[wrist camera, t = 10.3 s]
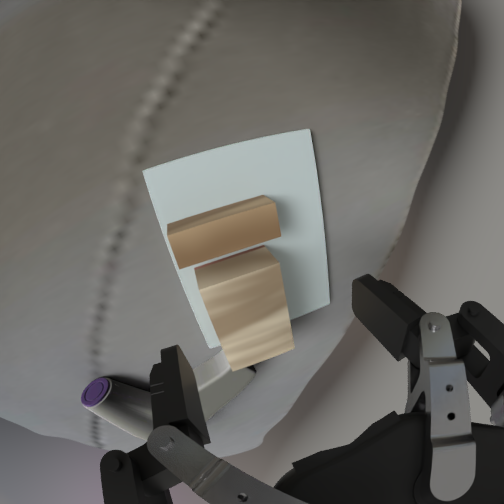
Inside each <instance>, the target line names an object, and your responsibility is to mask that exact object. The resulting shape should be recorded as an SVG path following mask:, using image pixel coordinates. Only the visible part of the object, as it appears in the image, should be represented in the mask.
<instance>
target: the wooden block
mask: <svg viewBox="0 0 504 504" xmlns="http://www.w3.org/2000/svg"><path fill="white" fill-rule="evenodd" d="M194 271H195V275H196V280H197V284H198V288H199V292H200V294H201V297H202V299H203V302H204V304H205V307H206V310H207V312H208V315H209V317H210V320H211V322H212V324H213V327H214V329H215V332H216V334H217V337H218V339H219V341H220V344H221V346H222V348H223V351H224V353H225V355H226V358H227V360H228V362H229V365H230V367H231V369H232V371H236V370H239V369H242V368H245V367H247V366H250V365H253V364H256V363H259V362H261V361H264V360H267V359H269V358H272V357H275V356H277V355H280V354H282V353H285V352H287V351H290V350H292V349H295V347H294V341H293V336H292V330H291V324H290V318H289V313H288V307H287V301H286V296H285V290H284V285H283V280H282V274H281V269H280V264H279V262H278V261H277V259H276V258H275V257H274V256H273V255H272V254H271V252H270V251H269V250H268V249H267V248H266V247H265V246H264V245H261V246H258V247H255V248H252V249H249V250H246V251H243V252H240V253H237V254H234V255H231V256H228V257H225V258H222V259H219V260H216V261H213V262H210V263H207V264H204V265H201V266H198V267H195V268H194Z"/></svg>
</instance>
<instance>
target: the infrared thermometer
mask: <svg viewBox="0 0 504 504" xmlns="http://www.w3.org/2000/svg"><path fill="white" fill-rule="evenodd" d="M192 370H193V372H194V375H195V378H196V383H197V387H198V392H199V396H200V401H201V405H202V410H203V414H204V418H205V422H206V421H207V420H209V419H210V418H211V417H212V416H213V415H214V414H215V413H216V412H217V411H218V410H220V409H221V408H222V407H224V406H225V405H226V404H227V403H229V402H230V401H231V400H232V399H233V398H235V397H236V396H237V395H238V394H239V393H240V392H241V391H242V390H243V389H244V388H245V387H246V386H247V385H248V384H249V383H250V382H251V380H252V379H253V378H254V376H255V374H256V370H255V368H254V366H253V365H250V366H247V367H245V368H242V369H239V370H236V371H232V369H231V367H230V365H229V362H228V360H227V358H226V355H225V353H224V351H223V349H222V350H221V351H220V352H219V353H218V354H216V355H215V356H214V357H212V358H211V359H209V360H207V361H206V362H204V363H202V364H201V365H199V366H197V367H195V368H194V369H192ZM81 402H82V404H83V406H84V407H85V408H87V409H88V410H90V411H92V412H93V413H95V414H96V415H98V416H100V417H101V418H103V419H105V420H106V421H108V422H110V423H112V424H113V425H115V426H117V427H119V428H120V429H122V430H124V431H126V432H128V433H130V434H132V435H133V436H135V437H138V438H141V439H144V440H147V439H148V437H149V435H150V433H151V432H152V431H153V418H152V407H151V392H148V391H144V390H141V389H138V388H135V387H132V386H129V385H126V384H123V383H120V382H118V381H115V380H112V379H110V378H98V379H96V380H94V381H92V382H91V383H90V384H89V385H88V386H87V387H86V388H85V390H84V391H83V393H82V396H81Z"/></svg>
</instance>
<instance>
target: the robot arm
mask: <svg viewBox="0 0 504 504" xmlns="http://www.w3.org/2000/svg"><path fill="white" fill-rule="evenodd" d="M352 309H353V312H354V314H355V316H356V317H357V318H358V319H359V320H360V321H361V322H362V323H363V325H364V326H365V327H366V328H367V329H368V330H369V331H370V332H371V333H372V334H373V335H374V336H375V337H376V338H377V339H378V341H379V342H381V344H382V345H383V346H384V347H385V348H386V349H387V350H388V351H389V352H390V353H391V355H392V356H393V357H394V358H395V359H396V360H397V361H400V360H401V359H403V358H404V357H407V358H408V398H407V403H406V408H405V413H404V414H400V415H397V413H396V412H395V411H393V412H391V413H390V414H388V415H386V416H385V417H383V418H382V419H380V420H378V421H377V422H375V423H373V424H372V425H371V426H370V427H369V428H368V429H366V430H365V431H364V432H363V433H362V434H361V435H360V436H359V437H358V438H357V439H355V440H354V441H353V442H352V443H350V444H348V445H345V446H341V447H337V448H333V449H329V450H324V451H320V452H317V453H315V454H313V455H311V456H308V457H306V458H303V459H301V460H299V461H296V462H293V463H292V464H293V467H294V468H293V469H291V470H290V471H289V472H287V473H286V474H285V475H284V476H283V477H282V478H281V479H280V480H279V481H278V482H277V483H276V485H275V486H274V488H273V487H271V486H269V485H267V484H265V483H263V482H261V481H259V480H257V479H256V478H254V477H252V476H250V475H248V474H246V473H245V472H243V471H241V470H240V469H238V468H236V467H235V466H233V465H231V464H230V463H228V462H226V461H224V460H222V459H220V458H218V457H216V456H215V455H213V454H212V453H210V452H209V451H207V450H206V449H205V448H204V445H205V444H209V443H211V442H210V438H209V434H208V430H207V426H206V422H205V418H204V414H203V410H202V405H201V401H200V396H199V392H198V387H197V383H196V378H195V375H194V372H193V370H192V368H191V366H190V364H189V362H188V361H187V359H186V357H185V355H184V354H183V352H182V350H181V348H180V347H179V345H175V346H172V347H168V348H165V349H162V350H161V363H158V364H154V365H153V368H152V370H151V373H150V386H151V387H150V392H151V407H152V418H153V431H152V432H151V433H150V435H149V437H148V439H147V442H146V443H145V444H144V445H142V446H140V447H138V448H136V449H134V450H132V451H130V452H128V453H125V452H123V451H121V450H112V451H109V452H107V453H106V454H105V455H104V456H103V458H102V459H101V462H100V472H101V482H102V490H103V497H104V504H173V502H172V499H171V495H170V491H169V488H171V487H173V486H175V485H177V484H178V483H181V482H184V483H185V484H186V485H188V486H189V487H190V488H191V489H192V490H193V492H195V493H196V494H197V495H198V496H200V497H201V498H202V499H204V500H205V501H207V502H208V503H209V504H504V324H503V323H502V322H500V321H499V320H498V319H497V318H496V317H495V316H494V315H493V314H491V313H490V312H489V311H488V310H487V309H486V308H484V307H483V306H482V305H481V304H479V303H477V302H475V301H467V302H465V303H463V304H462V305H461V308H460V311H459V313H456V314H453V315H450V316H446V317H445V316H444V315H442V314H440V313H436V312H430V313H426V312H425V311H424V310H423V309H421V308H420V307H419V306H418V305H416V304H415V303H414V302H413V301H411V300H410V299H409V298H408V297H407V296H404V294H403V293H402V292H400V291H398V289H397V288H396V287H394V286H393V285H392V284H391V283H388V282H385V281H383V280H379V281H378V280H376V279H375V278H374V277H373V276H371V275H370V274H366V275H363V276H361V277H359V278H357V279H354V280H353V283H352ZM475 340H476V341H477V342H478V343H479V344H480V345H481V346H482V347H483V348H484V349H485V350H486V351H487V352H488V353H489V356H490V361H489V360H488V359H487V358H486V357H485V356H484V355H483V354H482V353H481V352H480V351H479V350H478V349H477V348H476V347H475V346H474V343H475ZM467 381H468V382H469V383H470V384H471V385H472V386H473V388H474V389H475V390H476V391H477V392H478V394H479V395H480V396H481V397H482V398H483V400H484V401H485V402H486V403H487V404H488V405H489V407H490V408H491V417H490V422H491V423H492V424H493V425H488V424H480V423H474V422H471V416H470V404H469V395H468V386H467Z"/></svg>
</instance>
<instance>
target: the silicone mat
mask: <svg viewBox="0 0 504 504" xmlns="http://www.w3.org/2000/svg"><path fill="white" fill-rule="evenodd" d="M143 174H144V178H145V181H146V184H147V187H148V191H149V194H150V197H151V200H152V203H153V206H154V209H155V212H156V215H157V218H158V221H159V224H160V227H161V230H162V233H163V235H164V238H165V241H166V244H167V246H168V249H169V252H170V255H171V257H172V260H173V263H174V265H175V268H176V270H177V273H178V276H179V278H180V281H181V283H182V286H183V288H184V291H185V293H186V295H187V298H188V300H189V303H190V305H191V308H192V310H193V312H194V315H195V317H196V319H197V322H198V324H199V326H200V328H201V331H202V333H203V335H204V337H205V340H206V342H207V344H208V346H209V348H210V349H211V348H214V347H217V346H220V345H221V344H220V341H219V339H218V337H217V334H216V332H215V329H214V327H213V324H212V322H211V320H210V317H209V315H208V312H207V310H206V307H205V304H204V302H203V299H202V297H201V294H200V292H199V288H198V284H197V280H196V275H195V271H194V268H195V267H198V266H201V265H204V264H207V263H210V262H213V261H216V260H219V259H222V258H225V257H228V256H231V255H234V254H237V253H240V252H243V251H246V250H249V249H252V248H255V247H258V246H261V245H264V246H265V247H266V248H267V249H268V250H269V251H270V252H271V254H272V255H273V256H274V257H275V258H276V259H277V261H278V262H279V264H280V269H281V274H282V280H283V285H284V290H285V296H286V301H287V307H288V313H289V318H290V320H292V319H295V318H297V317H300V316H302V315H305V314H307V313H310V312H312V311H314V310H317V309H319V308H322V307H324V306H326V305H329V304H330V297H329V281H328V267H327V255H326V244H325V234H324V224H323V215H322V207H321V199H320V191H319V184H318V176H317V170H316V163H315V157H314V150H313V144H312V139H311V133H310V129H302V130H296V131H291V132H285V133H280V134H275V135H270V136H265V137H260V138H255V139H251V140H247V141H242V142H238V143H234V144H230V145H226V146H222V147H218V148H214V149H210V150H207V151H203V152H199V153H196V154H192V155H189V156H186V157H182V158H179V159H176V160H172V161H169V162H166V163H163V164H160V165H157V166H154V167H151V168H148V169H145V170H143ZM260 195H264V196H266V197H267V198H269V199H271V200H272V201H274V202H275V204H276V209H277V215H278V220H279V225H280V231H281V237H278V238H275V239H272V240H269V241H266V242H263V243H260V244H256V245H253V246H250V247H247V248H244V249H241V250H238V251H235V252H232V253H229V254H226V255H223V256H219V257H216V258H213V259H210V260H207V261H204V262H201V263H198V264H195V265H192V266H189V267H186V268H183V269H180V270H179V267H178V265H177V262H176V259H175V257H174V254H173V251H172V248H171V246H170V243H169V240H168V237H167V224H169V223H172V222H175V221H178V220H181V219H184V218H187V217H190V216H193V215H197V214H200V213H203V212H206V211H209V210H213V209H216V208H219V207H222V206H226V205H229V204H232V203H236V202H239V201H243V200H246V199H250V198H253V197H257V196H260Z"/></svg>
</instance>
